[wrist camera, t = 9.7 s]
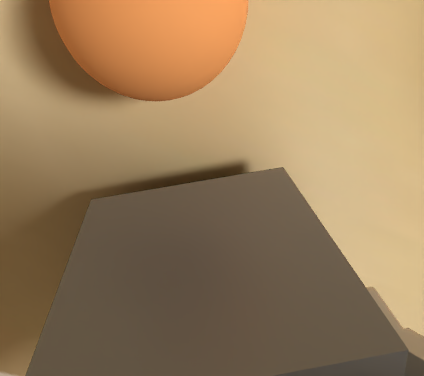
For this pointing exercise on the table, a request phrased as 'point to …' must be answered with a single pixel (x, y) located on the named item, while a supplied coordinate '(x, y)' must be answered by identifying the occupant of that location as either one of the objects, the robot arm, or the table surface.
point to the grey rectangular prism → (213, 289)
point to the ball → (151, 42)
